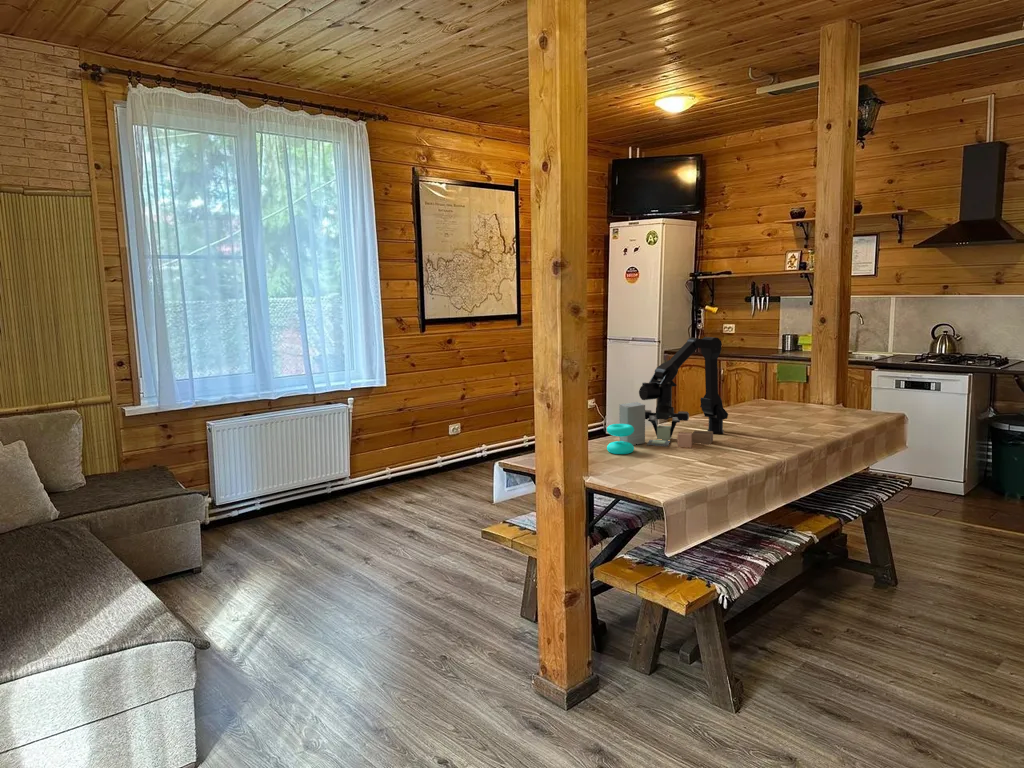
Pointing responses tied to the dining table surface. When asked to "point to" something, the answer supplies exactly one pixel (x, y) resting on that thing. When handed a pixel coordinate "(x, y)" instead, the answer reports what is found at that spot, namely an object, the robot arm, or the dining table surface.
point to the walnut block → (702, 437)
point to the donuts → (620, 446)
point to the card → (658, 442)
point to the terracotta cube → (684, 439)
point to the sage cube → (663, 432)
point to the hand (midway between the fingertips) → (664, 436)
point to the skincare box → (633, 421)
